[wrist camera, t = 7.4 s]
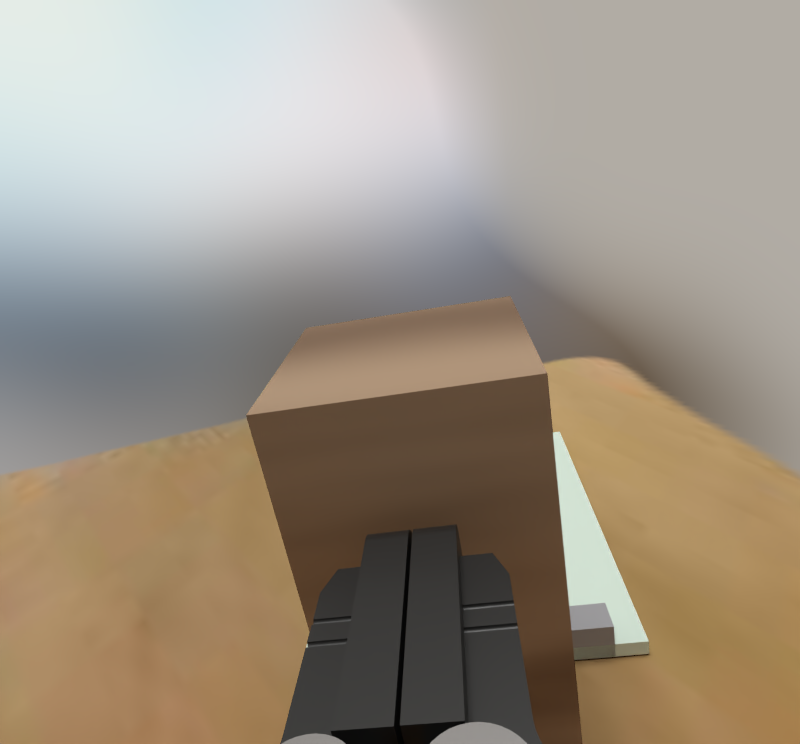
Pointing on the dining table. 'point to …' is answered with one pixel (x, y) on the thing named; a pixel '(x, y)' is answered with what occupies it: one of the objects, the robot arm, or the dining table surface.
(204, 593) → the dining table surface
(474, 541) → the walnut block
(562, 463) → the sage mat
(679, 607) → the dining table surface
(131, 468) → the dining table surface
